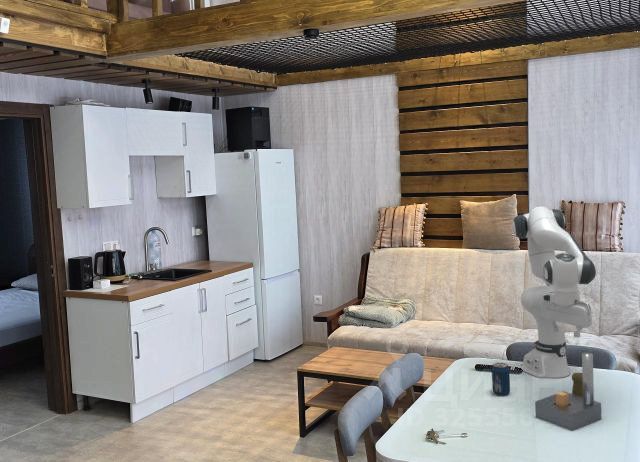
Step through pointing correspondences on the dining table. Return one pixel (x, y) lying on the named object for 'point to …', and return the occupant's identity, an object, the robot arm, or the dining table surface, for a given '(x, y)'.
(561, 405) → the orange brown rectangular block
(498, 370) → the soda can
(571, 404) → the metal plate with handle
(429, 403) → the dining table surface
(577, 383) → the cork
